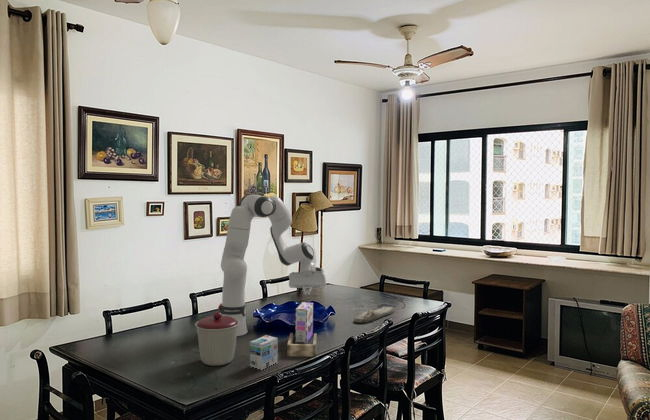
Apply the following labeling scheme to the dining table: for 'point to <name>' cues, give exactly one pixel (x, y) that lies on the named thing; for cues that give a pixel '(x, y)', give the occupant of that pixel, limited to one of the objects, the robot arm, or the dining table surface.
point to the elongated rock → (373, 314)
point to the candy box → (303, 322)
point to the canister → (217, 339)
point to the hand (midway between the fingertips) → (307, 293)
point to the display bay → (301, 347)
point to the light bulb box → (263, 352)
